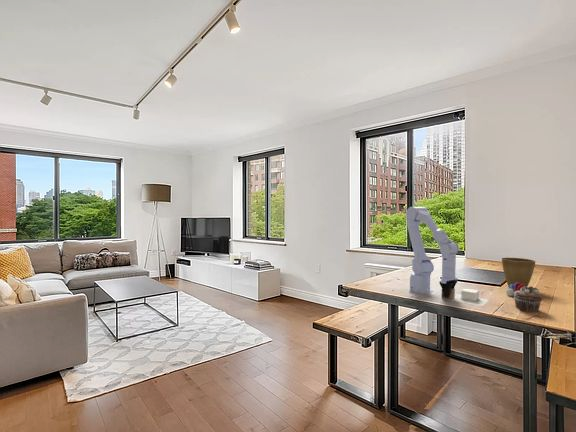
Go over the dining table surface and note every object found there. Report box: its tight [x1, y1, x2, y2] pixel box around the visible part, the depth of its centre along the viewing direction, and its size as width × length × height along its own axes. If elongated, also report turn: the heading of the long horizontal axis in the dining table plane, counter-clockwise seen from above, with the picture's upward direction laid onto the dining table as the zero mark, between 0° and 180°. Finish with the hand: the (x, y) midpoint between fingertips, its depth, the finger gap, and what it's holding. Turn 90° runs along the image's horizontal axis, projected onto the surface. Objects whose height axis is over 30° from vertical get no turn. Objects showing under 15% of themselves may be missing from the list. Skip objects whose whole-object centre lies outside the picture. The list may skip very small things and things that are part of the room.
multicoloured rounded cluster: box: [505, 282, 526, 298], centre depth 162 cm, size 8×10×7 cm
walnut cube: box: [441, 288, 456, 301], centre depth 158 cm, size 4×4×4 cm
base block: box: [460, 288, 480, 302], centre depth 157 cm, size 6×6×4 cm
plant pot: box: [501, 257, 536, 289], centre depth 178 cm, size 15×15×16 cm
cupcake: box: [513, 286, 543, 313], centre depth 143 cm, size 10×10×10 cm
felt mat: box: [439, 293, 490, 307], centre depth 157 cm, size 18×14×1 cm
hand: (448, 295), depth 158 cm, fingers closed on walnut cube, 4 cm apart
